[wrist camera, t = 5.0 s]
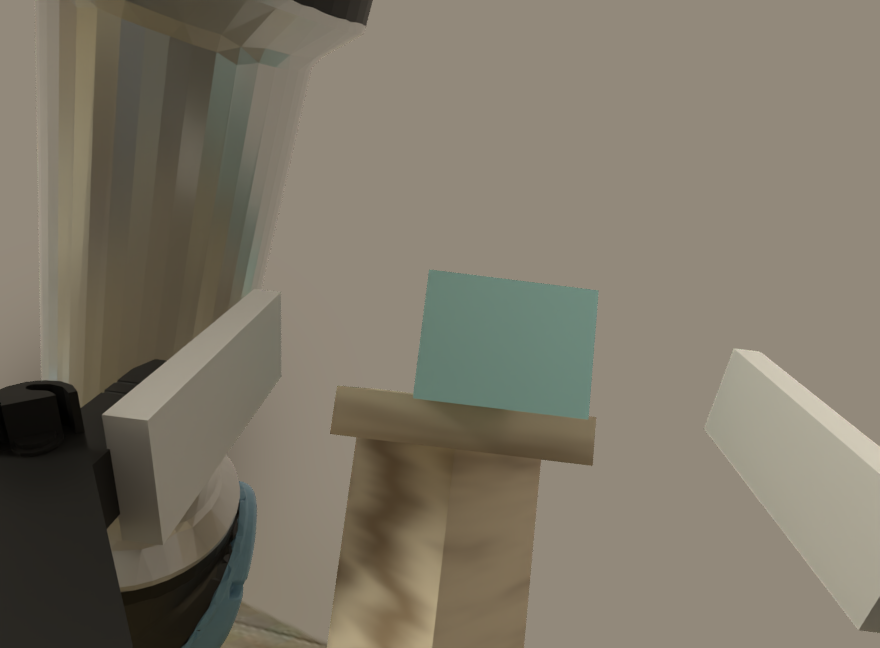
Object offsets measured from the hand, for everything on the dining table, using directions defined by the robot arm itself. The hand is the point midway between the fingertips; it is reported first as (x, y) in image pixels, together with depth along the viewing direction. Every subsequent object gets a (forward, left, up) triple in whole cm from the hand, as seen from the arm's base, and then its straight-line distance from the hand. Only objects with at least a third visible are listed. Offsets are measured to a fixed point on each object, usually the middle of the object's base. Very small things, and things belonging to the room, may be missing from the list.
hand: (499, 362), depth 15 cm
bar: (-7, +7, -1) cm, 10 cm away
